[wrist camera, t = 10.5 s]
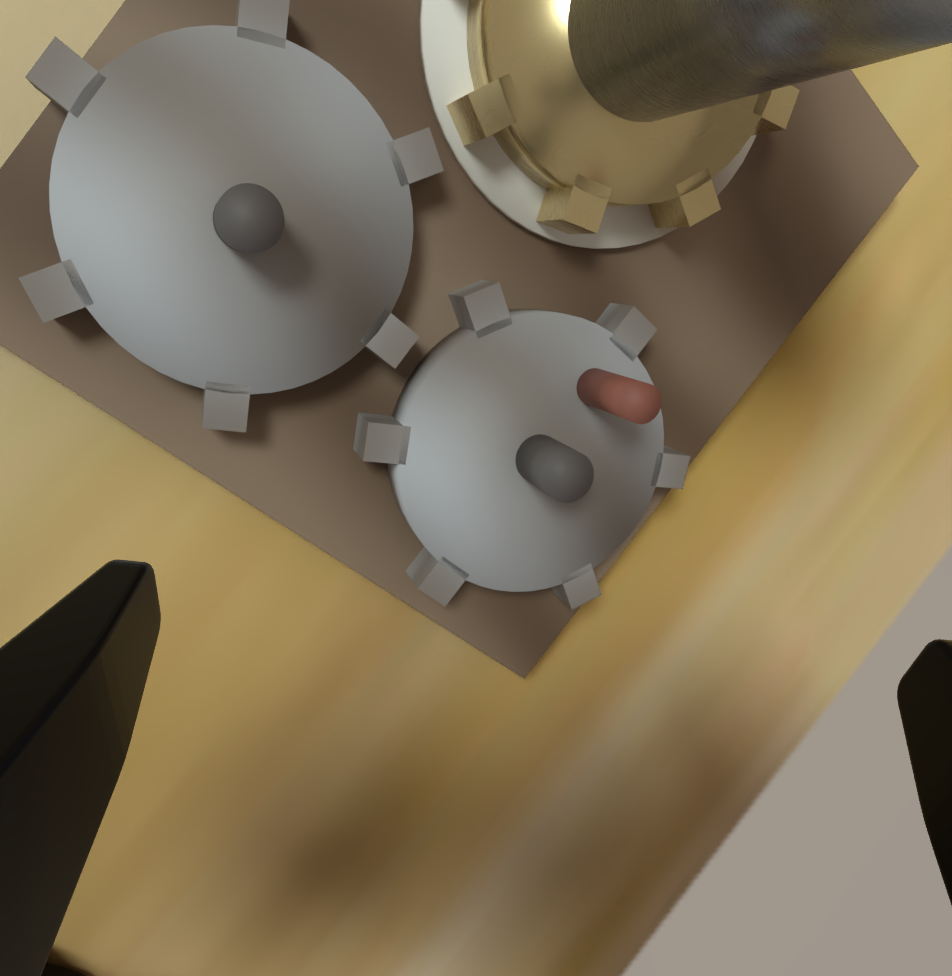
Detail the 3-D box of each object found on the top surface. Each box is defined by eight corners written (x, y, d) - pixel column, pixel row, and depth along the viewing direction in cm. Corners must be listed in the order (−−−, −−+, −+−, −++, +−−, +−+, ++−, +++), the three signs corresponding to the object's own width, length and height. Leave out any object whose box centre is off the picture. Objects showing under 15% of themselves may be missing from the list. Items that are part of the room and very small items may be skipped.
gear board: (505, 654, 24) (580, 750, 20) (-82, 275, 17) (-180, 287, 12) (877, 170, 24) (1042, 153, 19) (439, -426, 17) (535, -680, 12)
